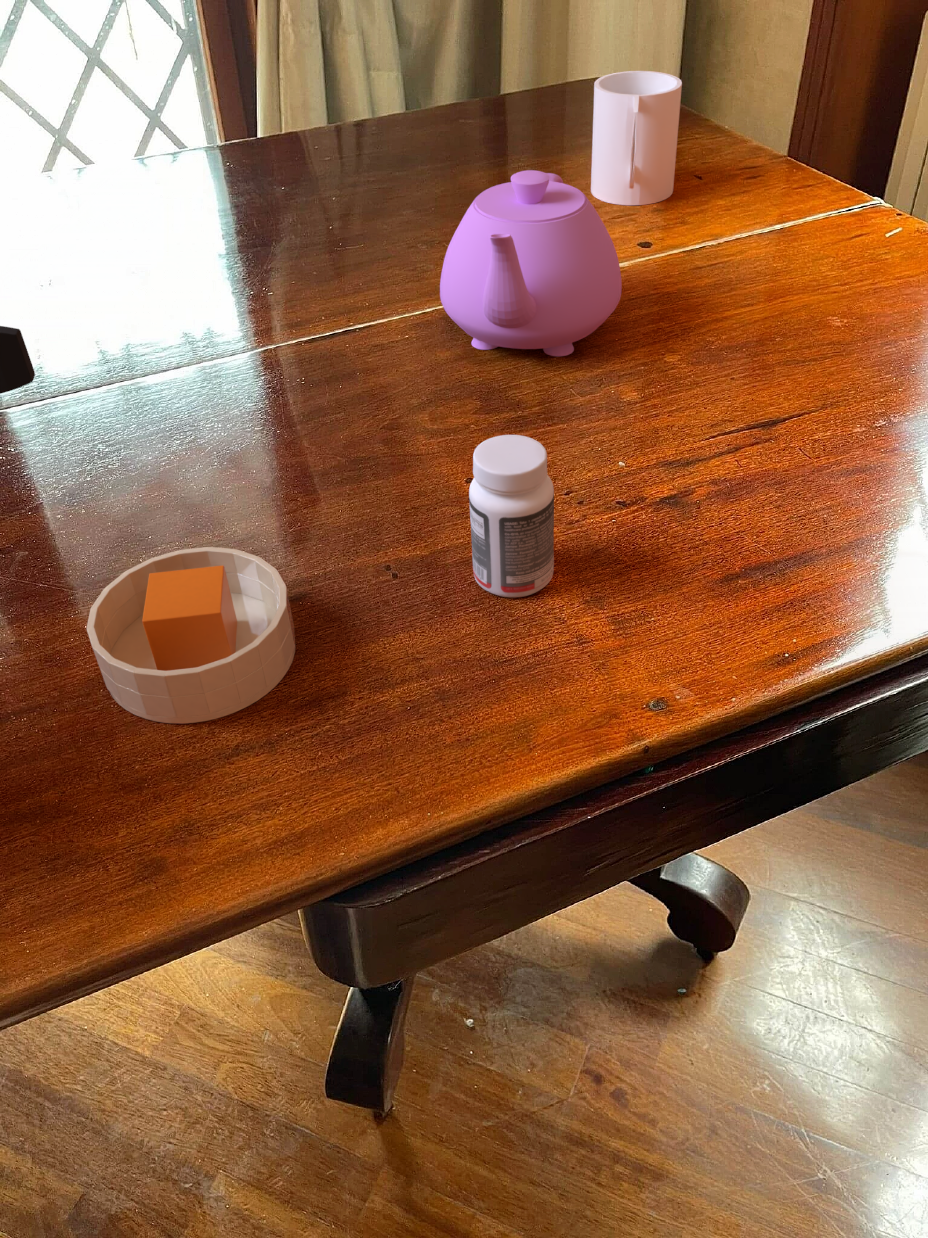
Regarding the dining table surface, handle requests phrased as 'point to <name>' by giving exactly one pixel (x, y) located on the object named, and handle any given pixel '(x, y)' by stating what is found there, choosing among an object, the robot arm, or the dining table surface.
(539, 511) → the pill bottle
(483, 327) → the teapot
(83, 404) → the dining table surface
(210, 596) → the block
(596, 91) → the cup
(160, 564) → the bowl
